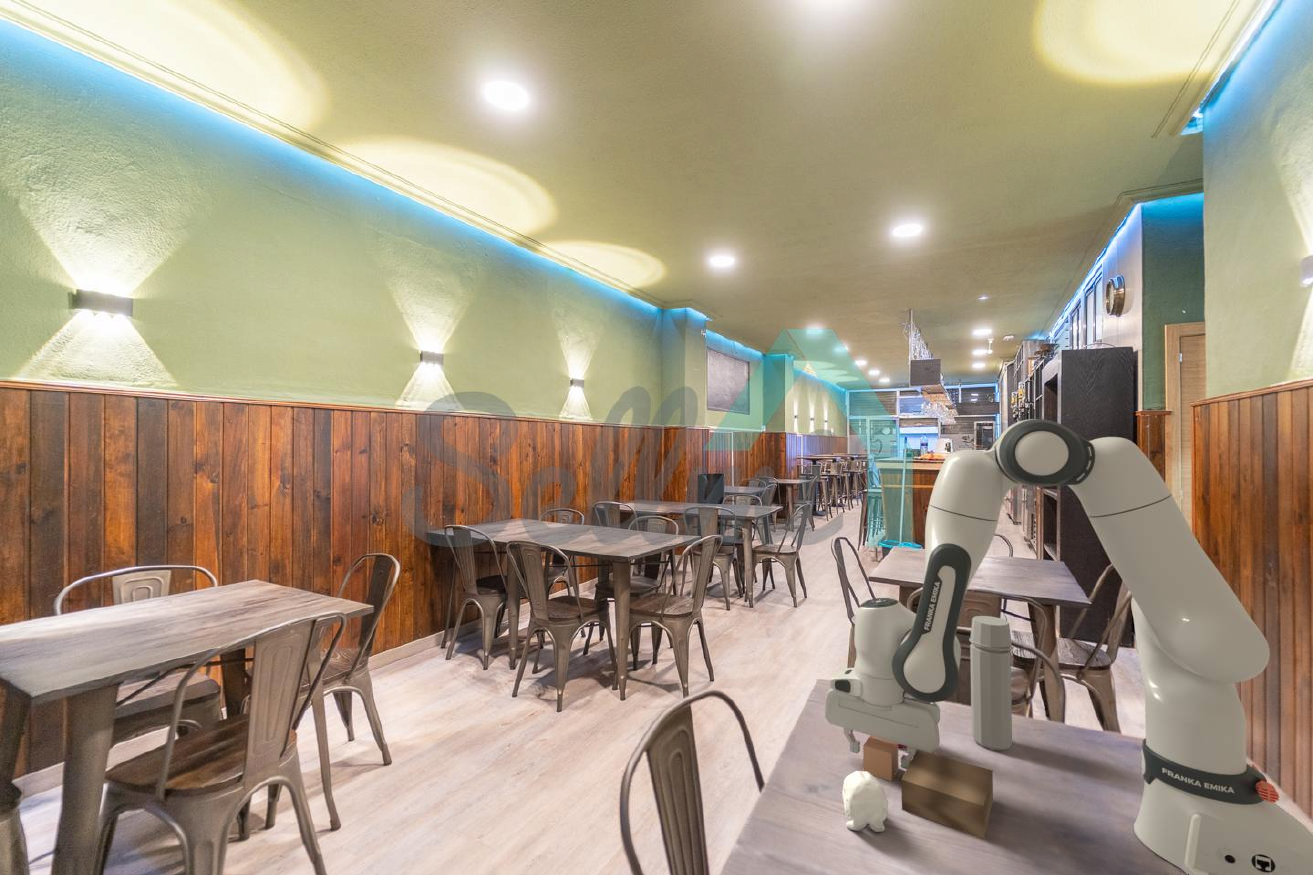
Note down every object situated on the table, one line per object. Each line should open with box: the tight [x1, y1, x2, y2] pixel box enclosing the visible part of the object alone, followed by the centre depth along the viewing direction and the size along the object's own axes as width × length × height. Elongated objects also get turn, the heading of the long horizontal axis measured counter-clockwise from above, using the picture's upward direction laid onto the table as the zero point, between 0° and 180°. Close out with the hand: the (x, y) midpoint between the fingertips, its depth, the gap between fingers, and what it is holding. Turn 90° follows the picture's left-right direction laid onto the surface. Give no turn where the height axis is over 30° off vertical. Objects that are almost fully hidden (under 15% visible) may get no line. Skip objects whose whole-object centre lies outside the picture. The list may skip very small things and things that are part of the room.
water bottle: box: [968, 615, 1014, 752], centre depth 117 cm, size 9×8×25 cm
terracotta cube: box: [862, 735, 900, 782], centre depth 107 cm, size 5×5×5 cm
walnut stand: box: [900, 750, 994, 839], centre depth 96 cm, size 12×12×5 cm
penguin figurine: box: [840, 770, 889, 833], centre depth 93 cm, size 6×8×12 cm
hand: (879, 759), depth 107 cm, fingers open, 8 cm apart
